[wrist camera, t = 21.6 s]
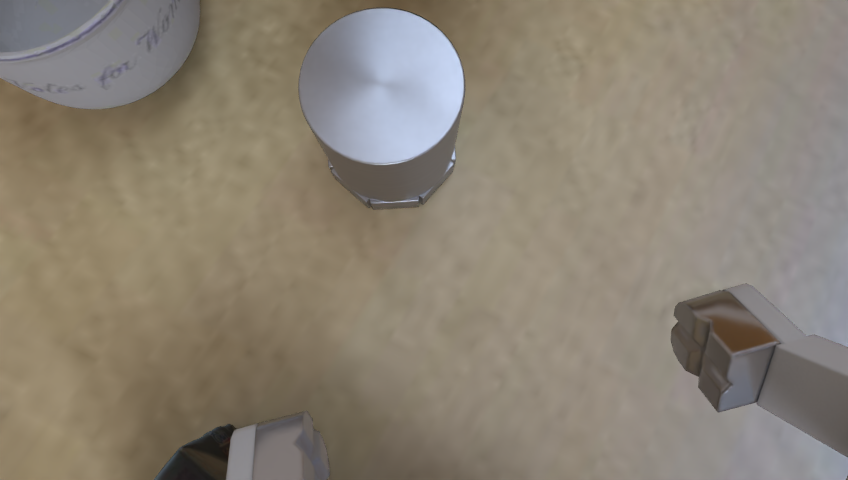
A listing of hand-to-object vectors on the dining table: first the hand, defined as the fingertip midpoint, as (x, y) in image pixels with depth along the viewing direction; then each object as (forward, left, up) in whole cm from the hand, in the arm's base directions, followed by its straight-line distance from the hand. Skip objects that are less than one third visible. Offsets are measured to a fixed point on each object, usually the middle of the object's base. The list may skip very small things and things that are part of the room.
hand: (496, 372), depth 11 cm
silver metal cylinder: (+2, -10, -15) cm, 19 cm away
